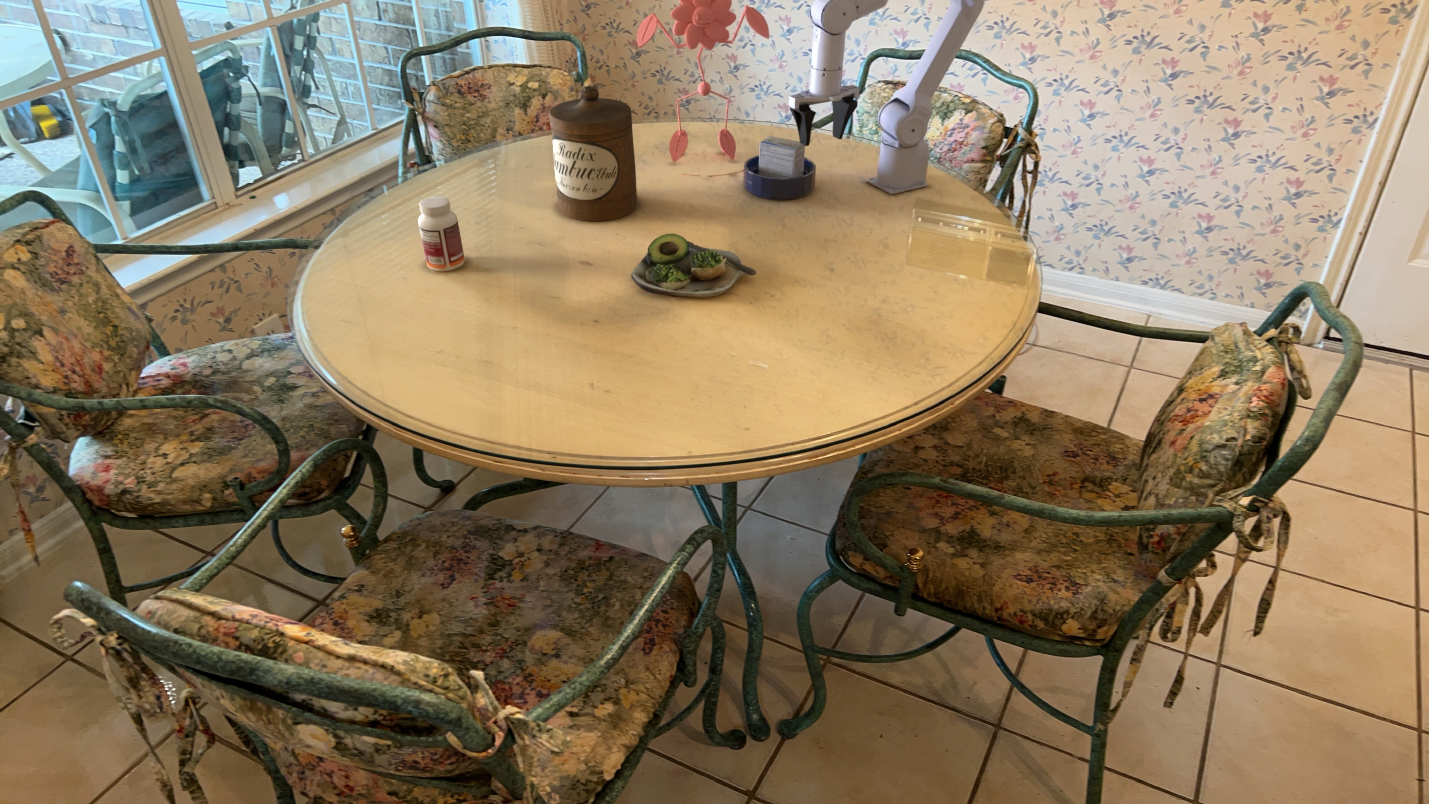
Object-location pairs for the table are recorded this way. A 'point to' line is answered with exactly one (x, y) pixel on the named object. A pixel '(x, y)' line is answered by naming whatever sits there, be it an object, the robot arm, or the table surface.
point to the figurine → (705, 25)
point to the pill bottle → (440, 234)
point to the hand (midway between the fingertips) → (821, 141)
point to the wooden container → (594, 157)
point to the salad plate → (687, 269)
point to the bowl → (778, 182)
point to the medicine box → (781, 158)
